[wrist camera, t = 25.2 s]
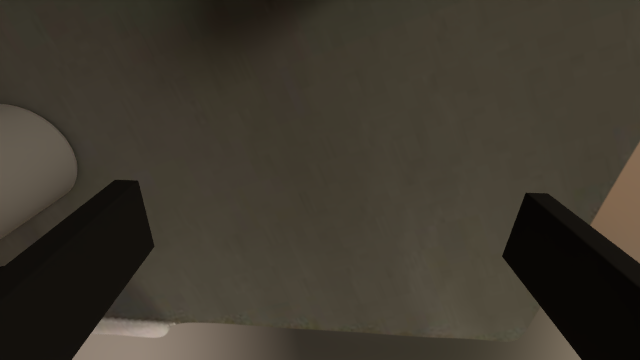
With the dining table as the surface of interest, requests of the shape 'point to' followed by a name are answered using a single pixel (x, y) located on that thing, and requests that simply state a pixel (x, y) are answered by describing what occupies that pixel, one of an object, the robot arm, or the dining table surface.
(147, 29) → the dining table surface
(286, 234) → the dining table surface
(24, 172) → the cylinder vase
